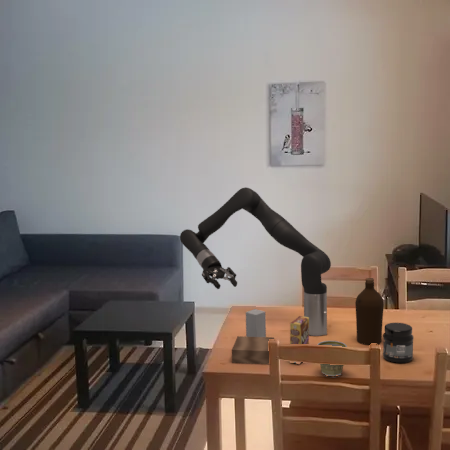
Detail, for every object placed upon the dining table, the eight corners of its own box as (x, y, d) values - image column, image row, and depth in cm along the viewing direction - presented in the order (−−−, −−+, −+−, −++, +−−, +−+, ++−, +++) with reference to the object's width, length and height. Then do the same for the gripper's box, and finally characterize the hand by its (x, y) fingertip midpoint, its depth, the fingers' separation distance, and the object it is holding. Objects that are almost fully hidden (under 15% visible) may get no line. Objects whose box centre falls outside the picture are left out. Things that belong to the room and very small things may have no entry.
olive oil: (377, 347, 231) (378, 283, 227) (351, 342, 237) (351, 280, 232) (386, 338, 240) (387, 277, 235) (360, 334, 245) (361, 274, 241)
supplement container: (396, 350, 227) (397, 320, 225) (419, 359, 218) (420, 327, 216) (376, 357, 222) (376, 325, 220) (399, 366, 213) (399, 333, 211)
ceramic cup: (314, 377, 206) (314, 349, 204) (320, 366, 215) (320, 339, 213) (353, 382, 201) (353, 353, 200) (357, 370, 211) (357, 343, 209)
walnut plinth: (274, 350, 232) (274, 337, 231) (270, 364, 218) (270, 351, 217) (237, 348, 234) (237, 336, 233) (232, 362, 220) (231, 349, 220)
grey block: (255, 337, 246) (255, 308, 244) (265, 340, 242) (265, 311, 240) (246, 341, 242) (245, 312, 240) (256, 344, 238) (256, 315, 236)
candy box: (300, 365, 216) (300, 324, 214) (289, 363, 218) (288, 322, 216) (309, 356, 224) (309, 317, 221) (298, 355, 226) (298, 315, 223)
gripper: (197, 256, 255) (216, 281, 244) (224, 253, 263) (244, 277, 253) (192, 270, 258) (210, 295, 248) (219, 267, 267) (238, 291, 256)
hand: (227, 286), depth 250 cm, fingers open, 8 cm apart
